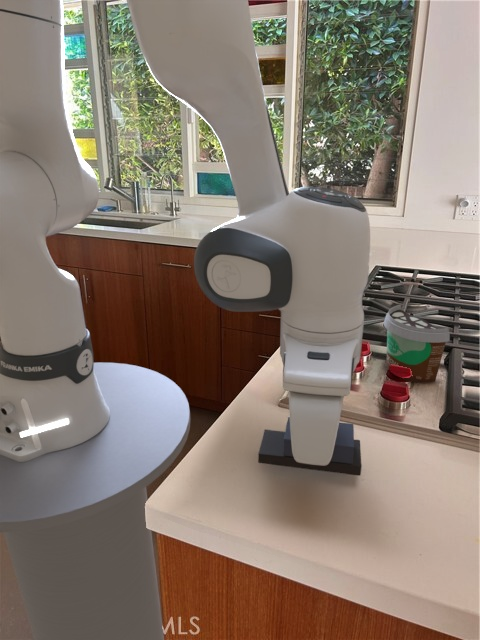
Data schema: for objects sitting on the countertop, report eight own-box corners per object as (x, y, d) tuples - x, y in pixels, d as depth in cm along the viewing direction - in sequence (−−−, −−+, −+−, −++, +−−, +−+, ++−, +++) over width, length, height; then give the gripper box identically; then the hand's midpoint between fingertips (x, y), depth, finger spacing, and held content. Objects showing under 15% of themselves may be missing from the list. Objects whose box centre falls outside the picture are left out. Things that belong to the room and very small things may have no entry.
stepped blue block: (258, 463, 56) (258, 437, 54) (264, 437, 60) (264, 413, 59) (360, 476, 54) (363, 449, 52) (359, 449, 58) (361, 423, 57)
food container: (364, 360, 84) (369, 308, 80) (392, 354, 86) (399, 303, 82) (411, 393, 73) (419, 335, 69) (441, 385, 75) (451, 329, 71)
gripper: (299, 306, 61) (296, 396, 66) (280, 384, 42) (278, 501, 48) (348, 309, 60) (341, 401, 65) (351, 391, 41) (340, 510, 46)
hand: (314, 444), depth 56 cm, fingers closed on stepped blue block, 4 cm apart
